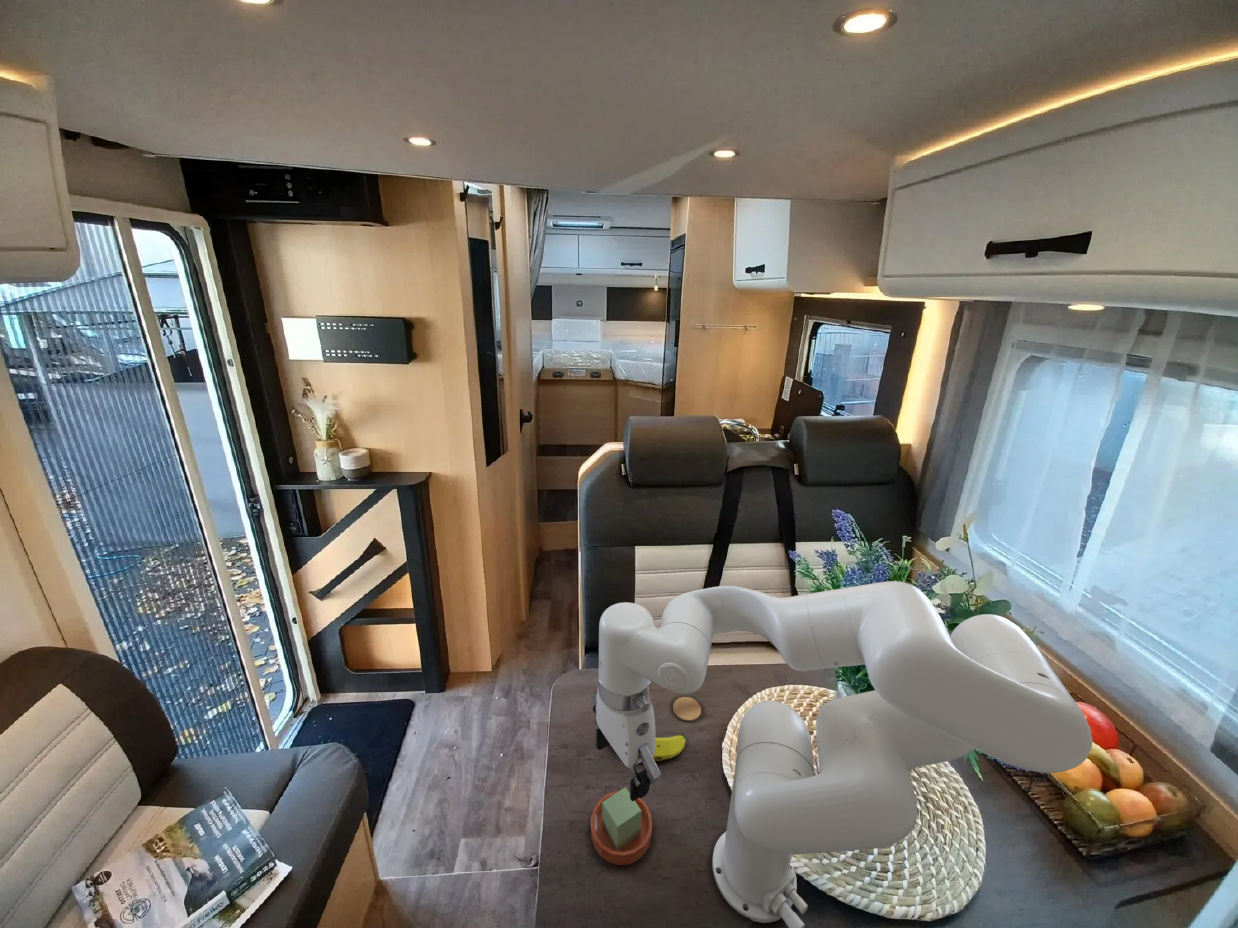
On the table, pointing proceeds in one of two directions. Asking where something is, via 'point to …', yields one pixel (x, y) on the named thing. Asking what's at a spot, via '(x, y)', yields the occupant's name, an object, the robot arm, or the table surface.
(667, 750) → the banana
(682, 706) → the mat
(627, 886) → the table surface
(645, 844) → the bowl
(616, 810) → the block
